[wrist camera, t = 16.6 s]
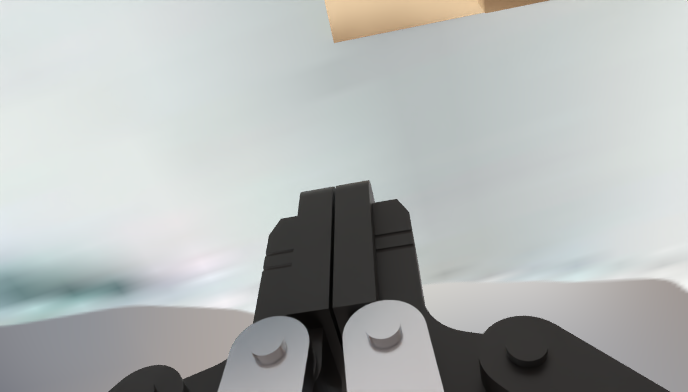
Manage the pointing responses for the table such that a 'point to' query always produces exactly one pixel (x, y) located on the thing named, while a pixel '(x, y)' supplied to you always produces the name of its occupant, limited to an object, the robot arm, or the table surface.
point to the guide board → (402, 14)
